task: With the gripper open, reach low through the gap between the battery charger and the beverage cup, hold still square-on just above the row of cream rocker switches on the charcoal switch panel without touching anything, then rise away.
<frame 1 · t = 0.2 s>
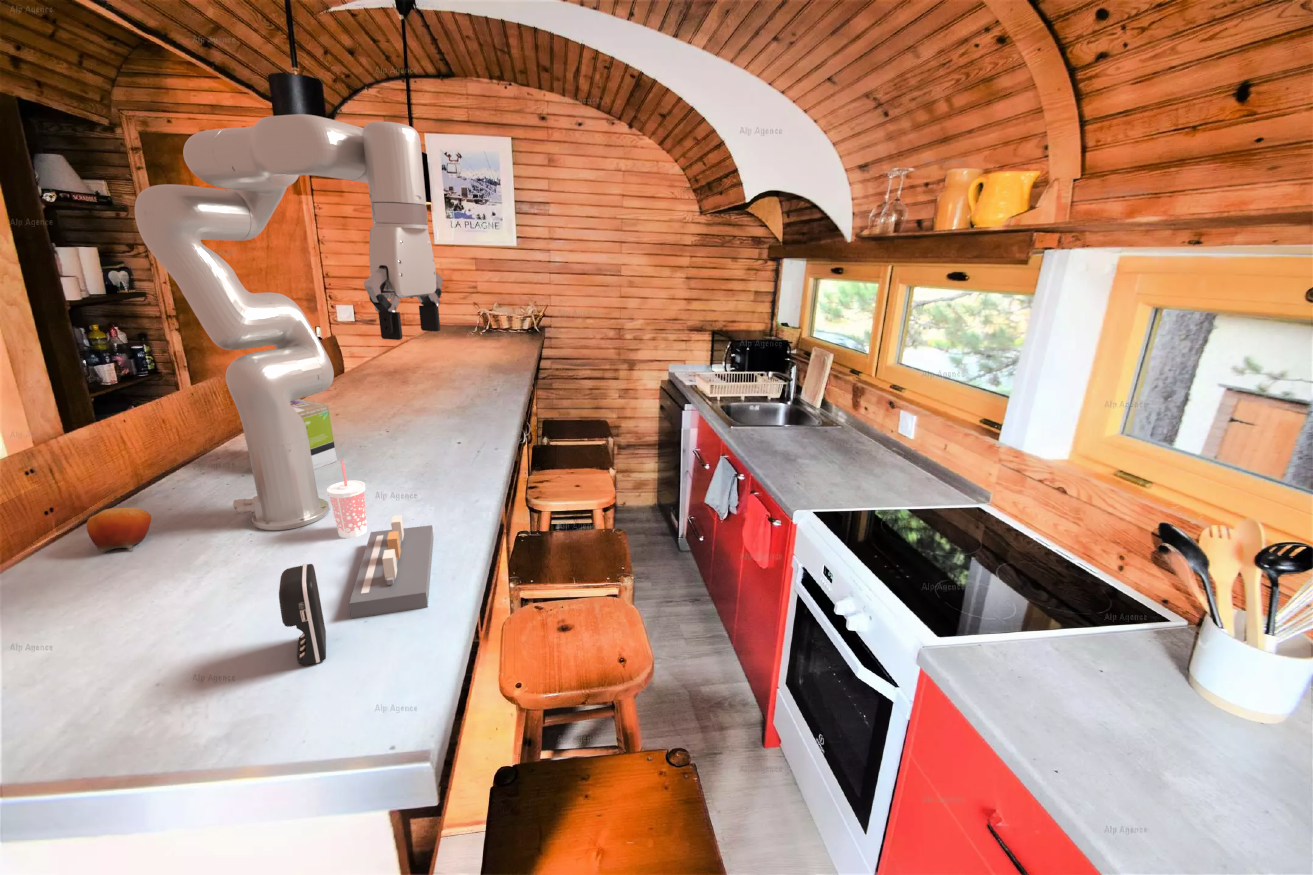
hand: (412, 334, 90), 37 cm above the worktop, tool pointing down, fingers open, 9 cm apart
tea box: (297, 464, 136), on the worktop
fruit: (125, 545, 99), on the worktop
switch paddles: (394, 546, 91), point 5 cm above the worktop, hinge at 0.0°
switch panel: (397, 573, 92), on the worktop
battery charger: (309, 652, 74), on the worktop
beverage cup: (353, 533, 105), on the worktop
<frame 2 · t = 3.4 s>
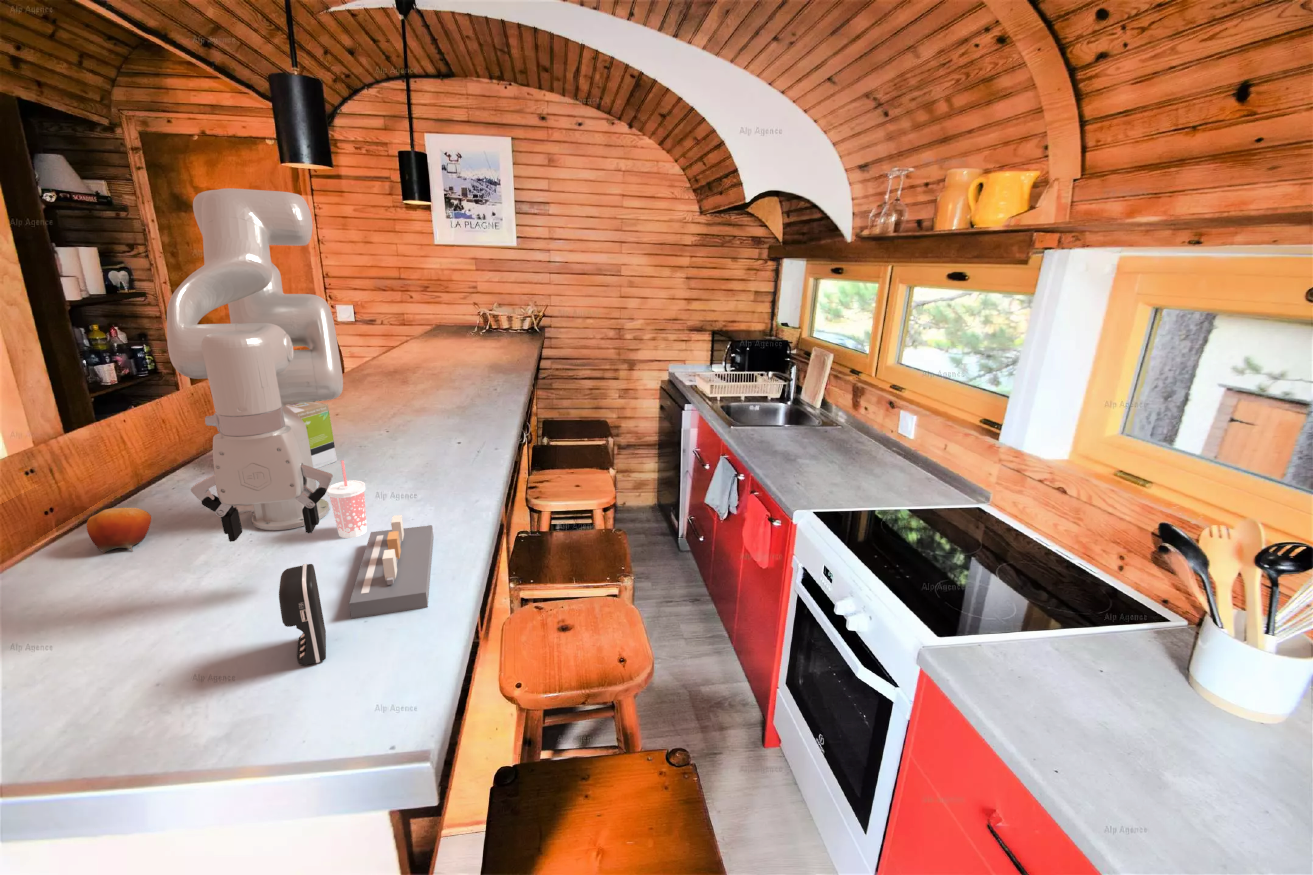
hand: (274, 533, 85), 9 cm above the worktop, tool pointing down, fingers open, 9 cm apart
nothing on the worktop moved.
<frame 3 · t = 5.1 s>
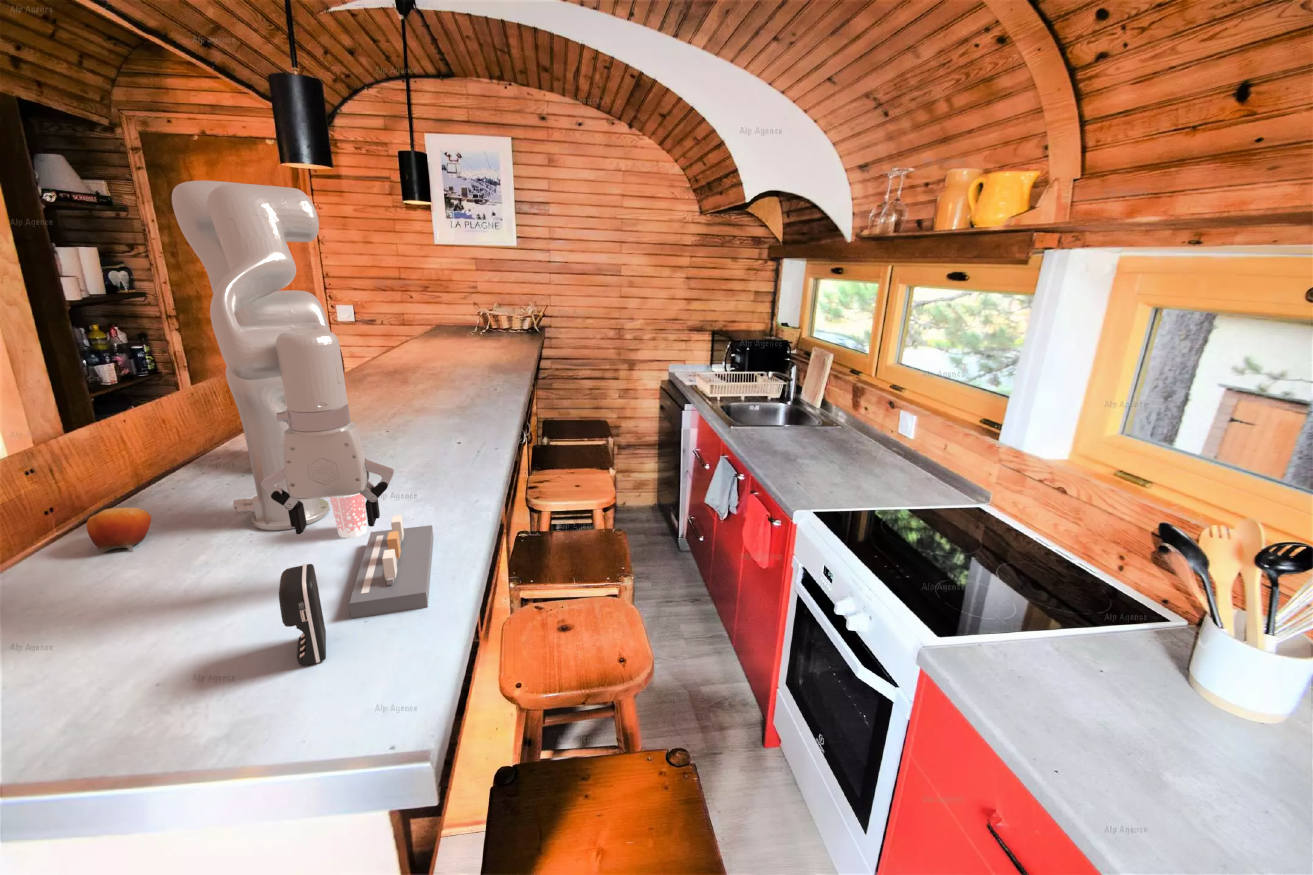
hand: (337, 526, 87), 9 cm above the worktop, tool pointing down, fingers open, 9 cm apart
nothing on the worktop moved.
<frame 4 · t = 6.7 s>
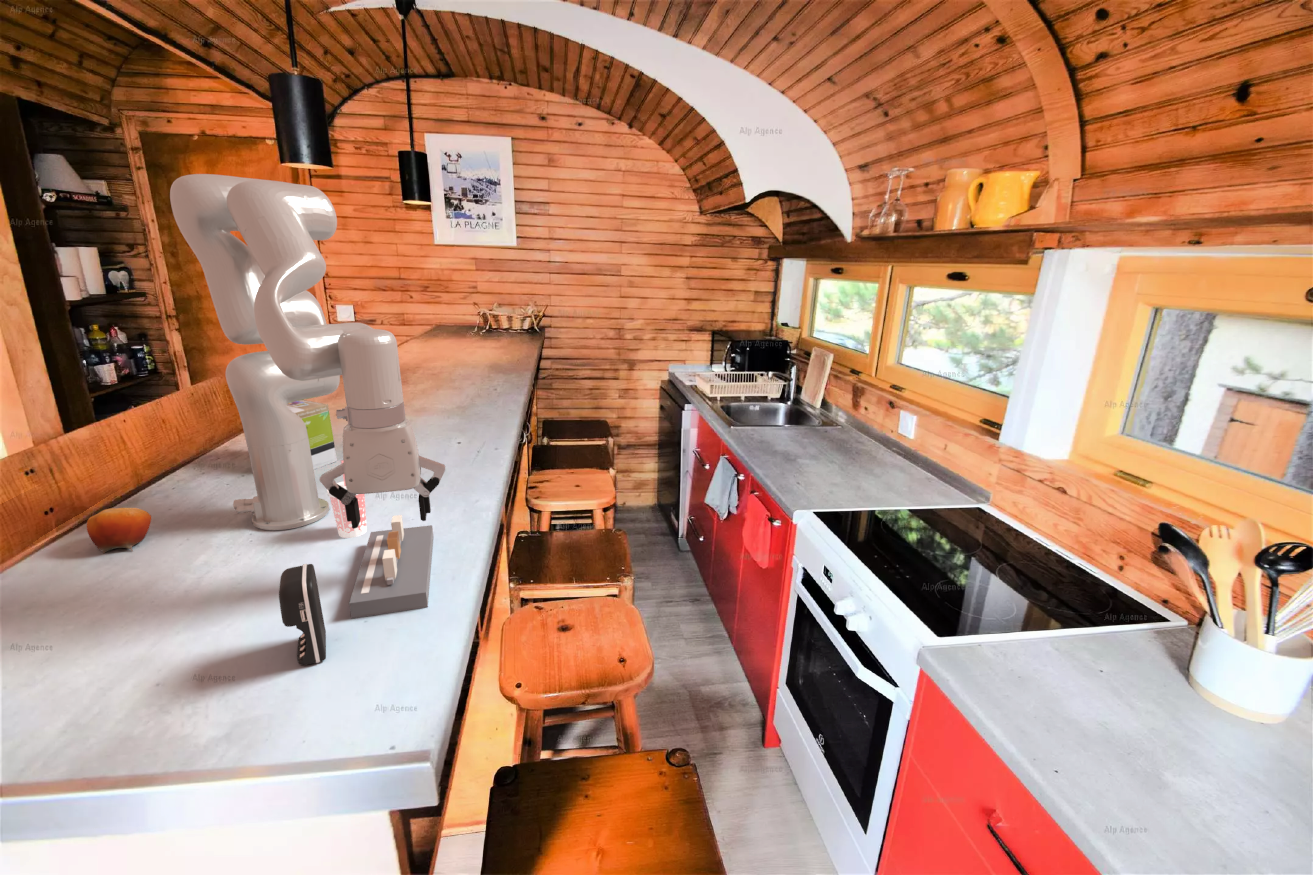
hand: (390, 520, 89), 9 cm above the worktop, tool pointing down, fingers open, 9 cm apart
nothing on the worktop moved.
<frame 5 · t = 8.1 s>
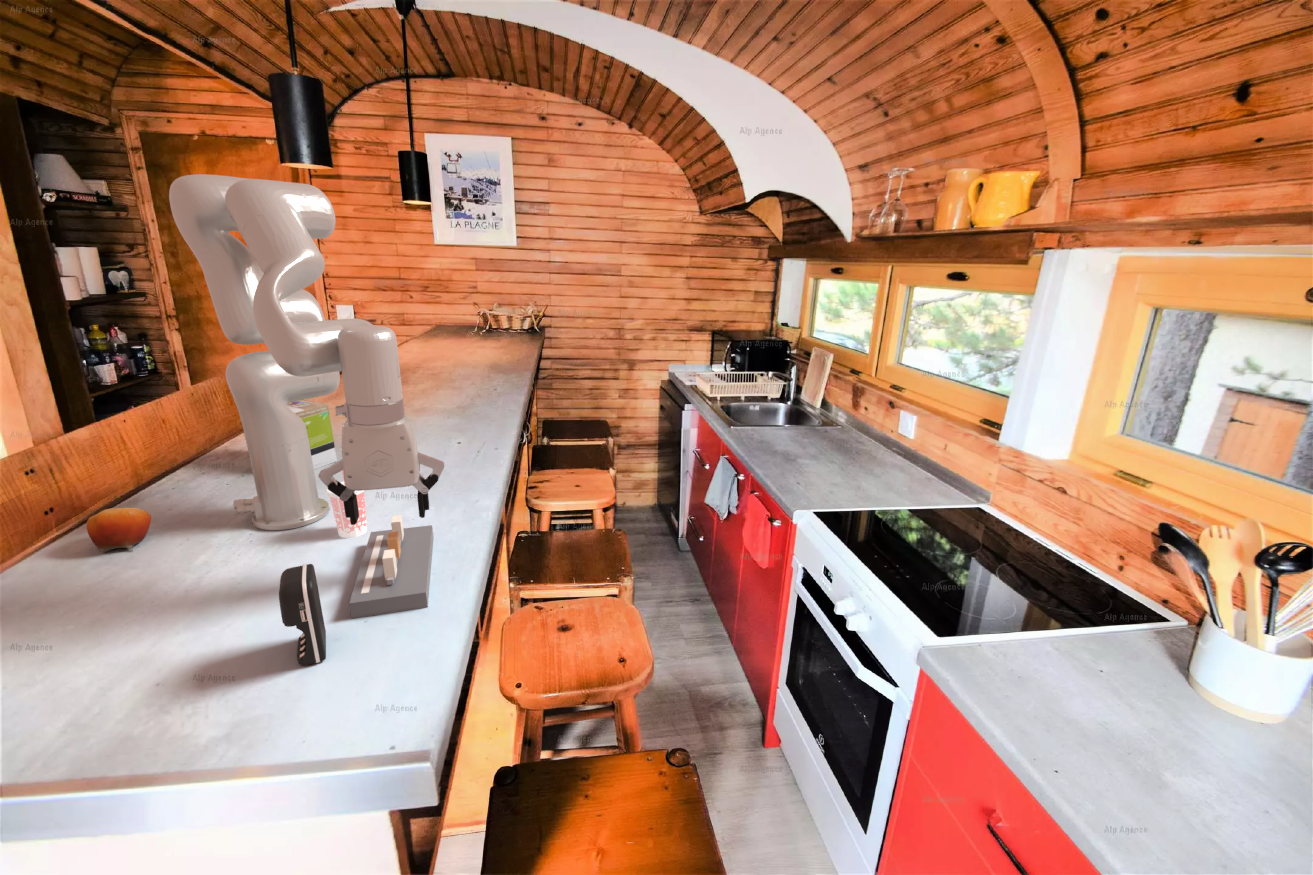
hand: (389, 517, 89), 10 cm above the worktop, tool pointing down, fingers open, 9 cm apart
nothing on the worktop moved.
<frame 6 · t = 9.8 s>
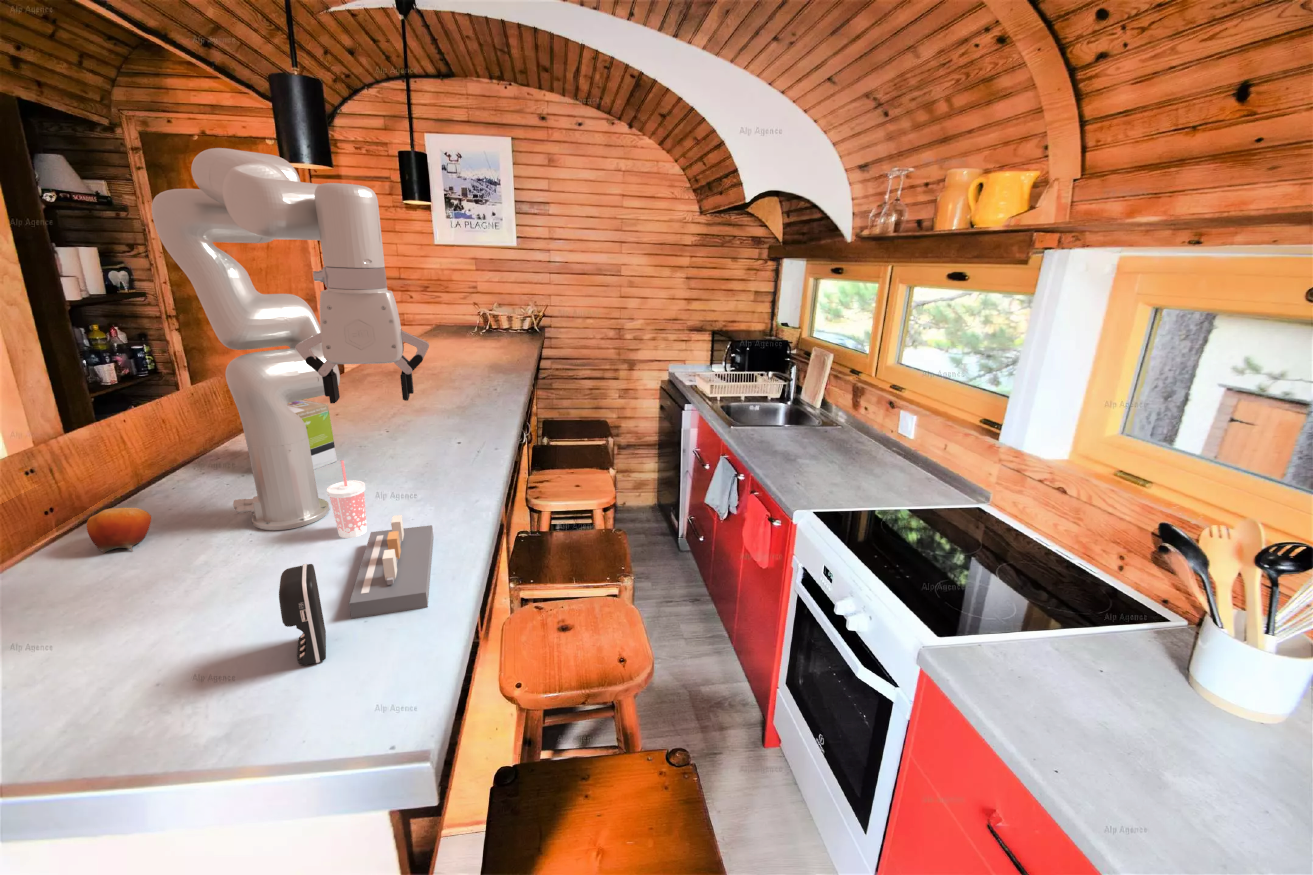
hand: (371, 399, 85), 28 cm above the worktop, tool pointing down, fingers open, 9 cm apart
nothing on the worktop moved.
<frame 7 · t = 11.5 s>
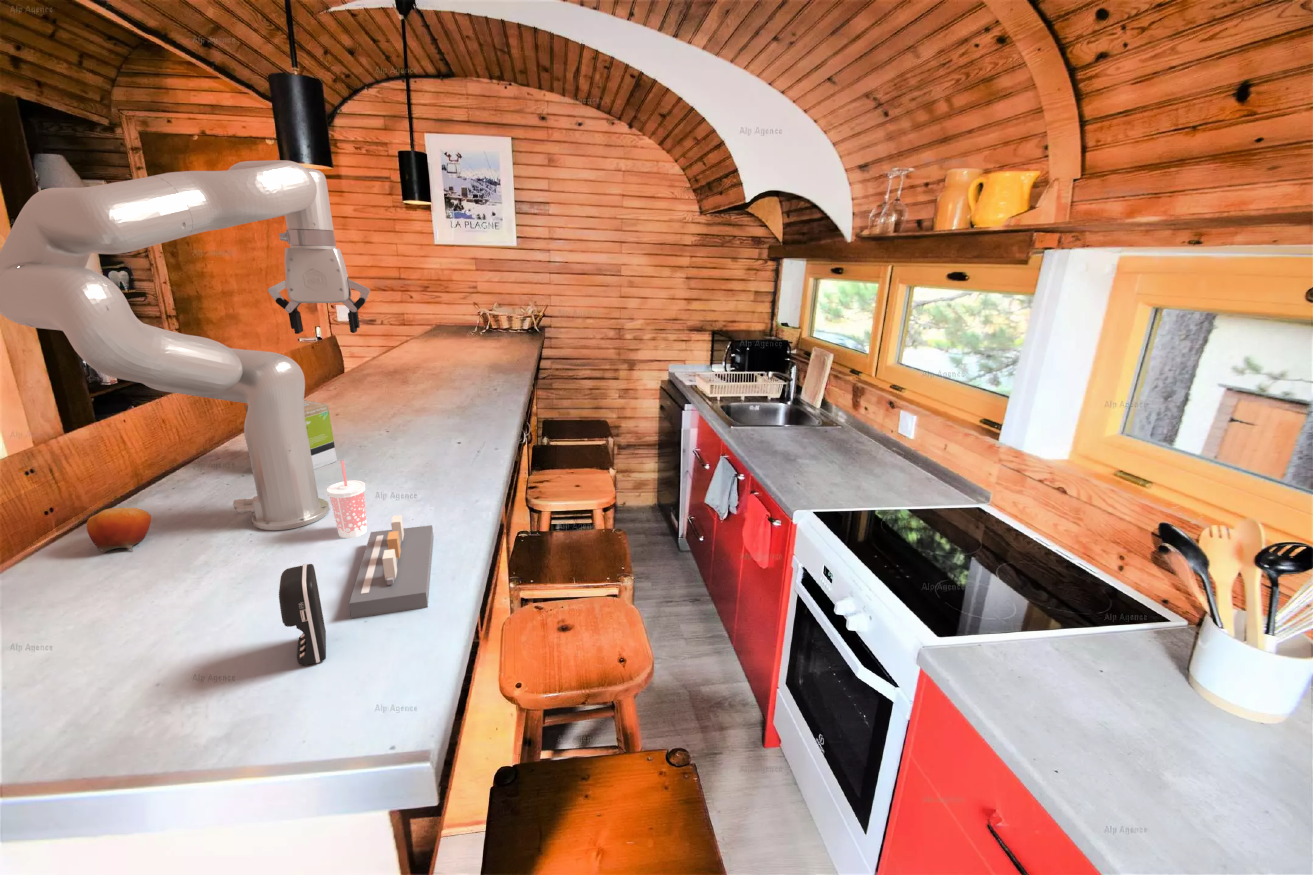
hand: (327, 332, 113), 33 cm above the worktop, tool pointing down, fingers open, 9 cm apart
nothing on the worktop moved.
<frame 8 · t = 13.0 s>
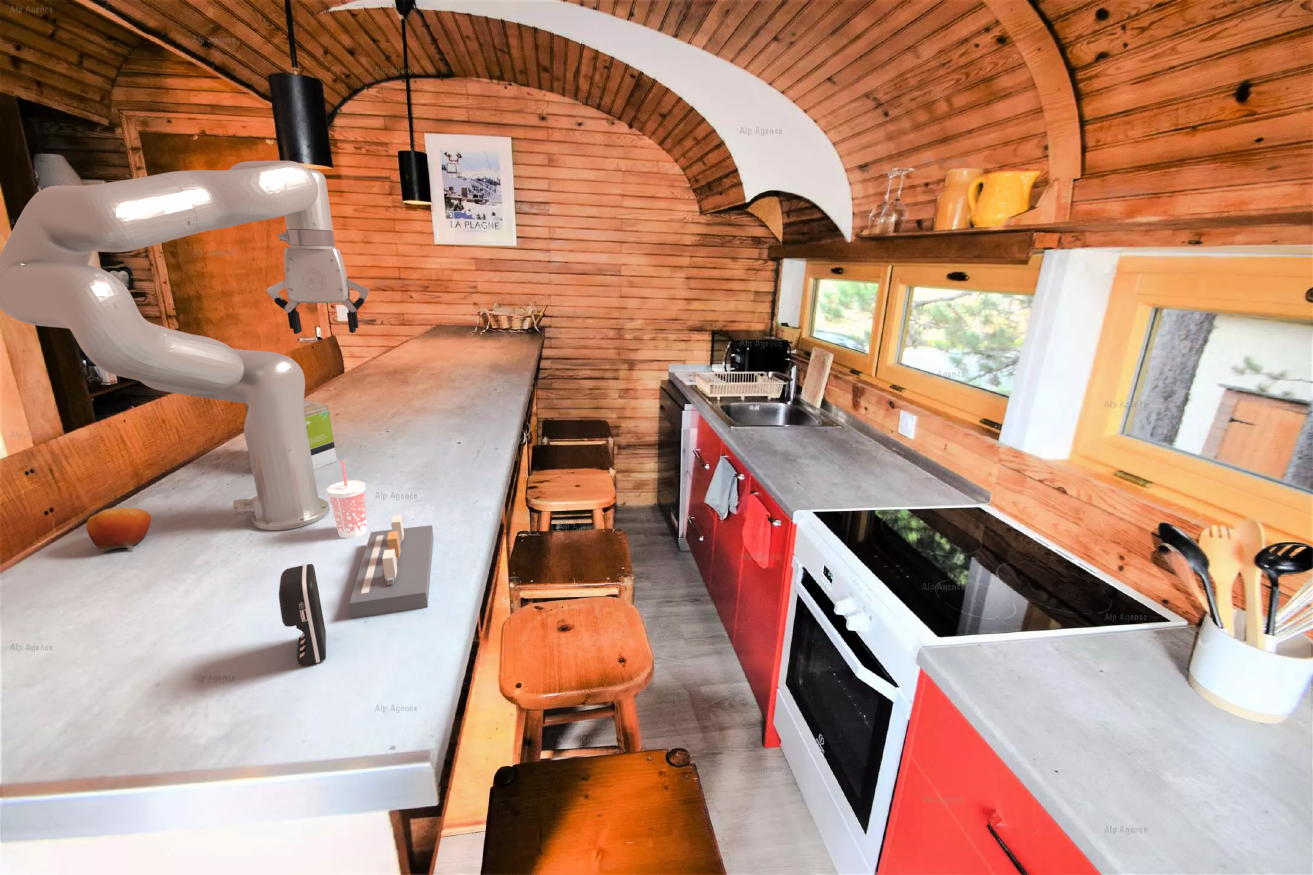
hand: (325, 332, 113), 33 cm above the worktop, tool pointing down, fingers open, 9 cm apart
nothing on the worktop moved.
at the end: switch paddles at +0° (first picture: +0°); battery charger moved 0.2 cm from its start; beverage cup moved 0.2 cm from its start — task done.
